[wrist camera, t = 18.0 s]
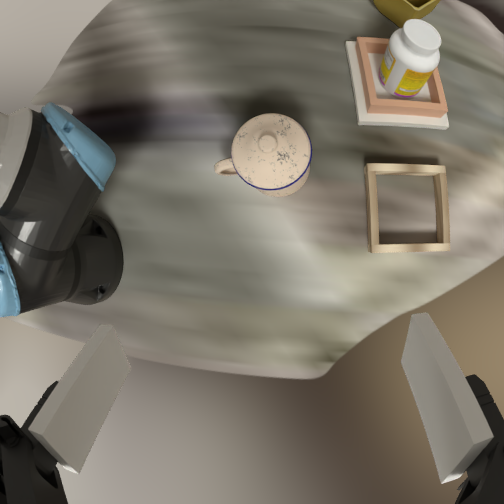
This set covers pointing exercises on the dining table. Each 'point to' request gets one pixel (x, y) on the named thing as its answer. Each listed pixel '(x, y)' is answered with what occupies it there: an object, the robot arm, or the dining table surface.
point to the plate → (383, 103)
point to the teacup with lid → (270, 155)
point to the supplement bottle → (410, 59)
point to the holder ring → (440, 202)
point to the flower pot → (405, 9)
